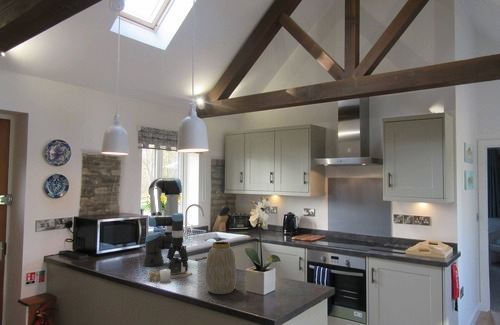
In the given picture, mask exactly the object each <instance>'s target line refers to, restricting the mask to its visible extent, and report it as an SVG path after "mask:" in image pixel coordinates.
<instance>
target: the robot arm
mask: <svg viewBox="0 0 500 325" xmlns="http://www.w3.org/2000/svg"><path fill="white" fill-rule="evenodd" d="M181 193H183V186H182V182H181V179H180V178H176V177H159V178H156V179H154V180H152V182H151V183H150V184H149V187H148V195H149V197H150V198H149V200H150V203H149V204H150V215H148V218H147V220H148V221H147V222H148V224H147V225H148V227H150V228H151V227H152V228H157V227H158V228H159V227H166V229H165V231H164V233H162V232H160V231H156V232H151V233H147V235H146V236H145V241H144V242H145V256H144V258H143V259H144V260H143V262H142V266H144V267H149V268H151V267H152V268H153V267H159V266H163V265H165V260H164V257H163V254H162V252H163V250H164V251H167V250H168V251H167V256H166V258H167V259H168V260H169V262H170V261H171V260H172V258H173V257H175V254H176V252H178V254H179V258H180V259H182V262H181V272H185V266H186V261H187V262H189V256H188V253H187V252H188V251H187V245H183V244H184V219H185V218H184V213H183V212H179V197H180V195H181ZM162 194H164V197H166V215H164V214H163V209H162V208H163V207H162ZM169 262H168V263H169Z"/></svg>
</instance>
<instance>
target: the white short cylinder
mask: <svg viewBox="0 0 500 325" xmlns="http://www.w3.org/2000/svg"><path fill="white" fill-rule="evenodd" d="M159 272H160V280H159V282H160V283H162V284H165V283H170V282H171V279H170V272H171V270H170V269H168V268H161V269H159Z"/></svg>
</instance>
